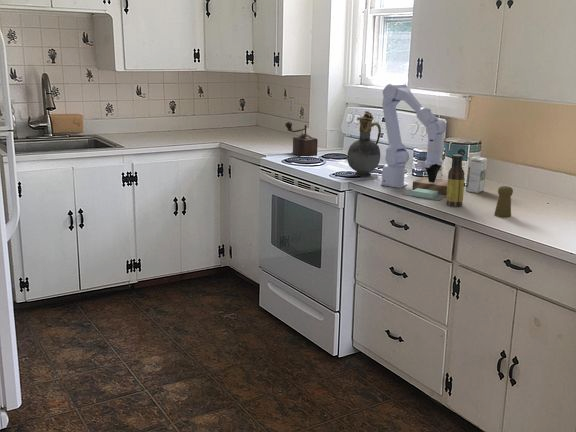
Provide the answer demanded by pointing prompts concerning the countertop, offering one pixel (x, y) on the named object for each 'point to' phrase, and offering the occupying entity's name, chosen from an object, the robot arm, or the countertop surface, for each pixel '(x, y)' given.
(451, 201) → the sauce bottle
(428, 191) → the pale teal block
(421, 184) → the deck
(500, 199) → the cork
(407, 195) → the mat
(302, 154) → the manual coffee grinder
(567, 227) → the countertop surface
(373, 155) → the pitcher
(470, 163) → the syrup box
